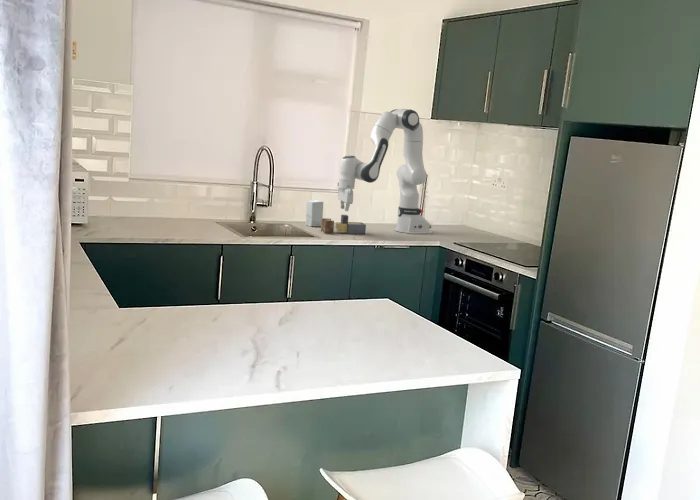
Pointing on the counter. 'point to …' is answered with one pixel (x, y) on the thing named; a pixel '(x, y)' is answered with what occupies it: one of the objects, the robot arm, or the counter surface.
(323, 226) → the brown wooden box
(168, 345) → the counter surface
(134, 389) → the counter surface
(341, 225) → the tan block
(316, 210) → the skincare box
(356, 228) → the sleeve
